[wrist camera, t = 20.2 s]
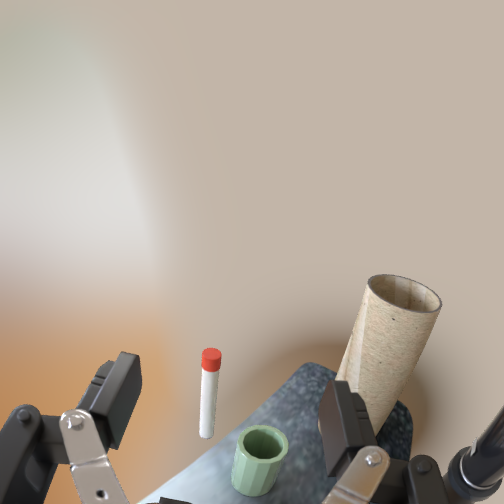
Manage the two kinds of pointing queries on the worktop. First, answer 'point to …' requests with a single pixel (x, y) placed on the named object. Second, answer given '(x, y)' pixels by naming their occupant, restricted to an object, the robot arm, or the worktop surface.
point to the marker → (209, 390)
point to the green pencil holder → (258, 459)
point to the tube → (387, 341)
